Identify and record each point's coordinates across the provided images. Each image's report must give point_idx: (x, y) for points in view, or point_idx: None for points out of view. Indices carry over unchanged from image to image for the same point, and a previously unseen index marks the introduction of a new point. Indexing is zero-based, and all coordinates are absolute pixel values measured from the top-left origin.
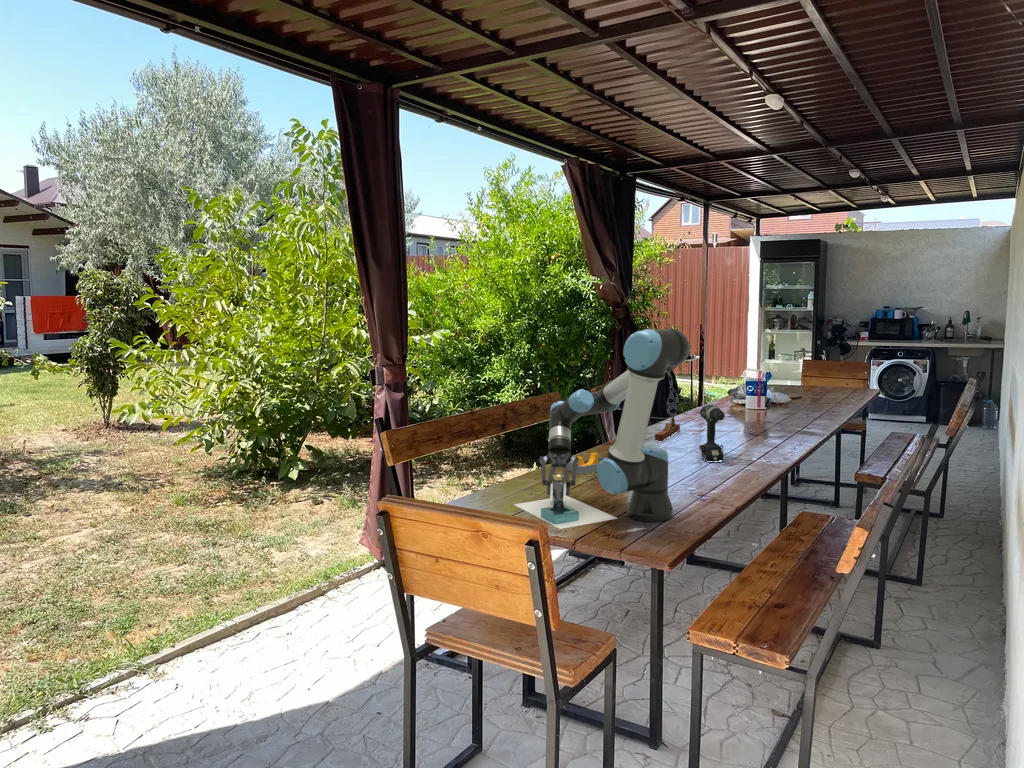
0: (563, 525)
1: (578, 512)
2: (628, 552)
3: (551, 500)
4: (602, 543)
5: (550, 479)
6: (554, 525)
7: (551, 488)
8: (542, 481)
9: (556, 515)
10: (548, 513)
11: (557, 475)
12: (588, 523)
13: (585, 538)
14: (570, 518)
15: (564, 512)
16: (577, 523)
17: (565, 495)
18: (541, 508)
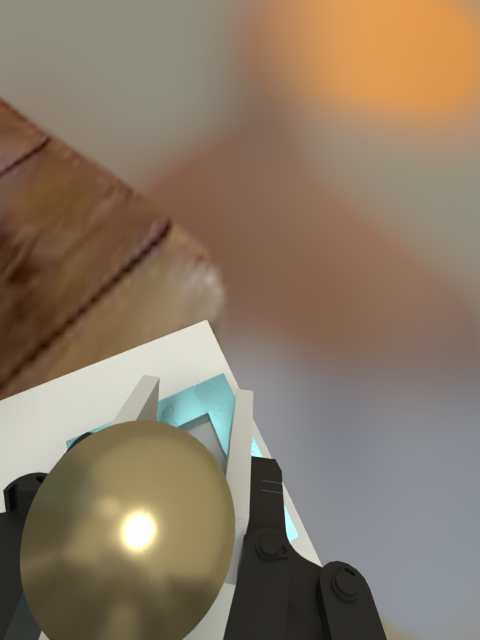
0: (184, 364)
1: (70, 441)
2: (30, 129)
3: (243, 392)
4: (79, 198)
5: (251, 584)
6: (226, 369)
7: (241, 465)
8: (355, 576)
9: (213, 377)
10: (253, 440)
11: (156, 470)
12: (54, 382)
13: (123, 247)
14: None
15: (159, 421)
16: (109, 388)
17: (128, 401)
18: (295, 533)
